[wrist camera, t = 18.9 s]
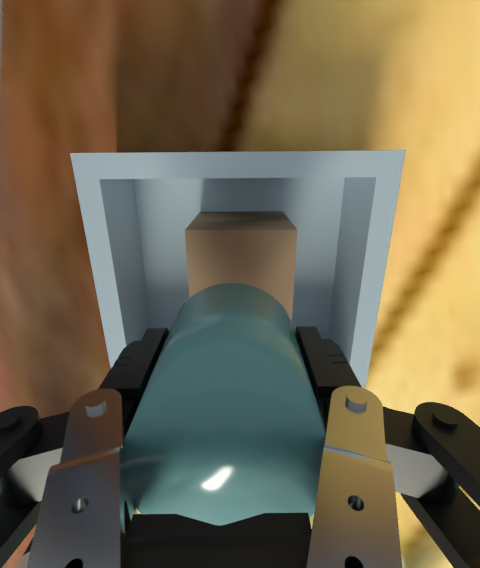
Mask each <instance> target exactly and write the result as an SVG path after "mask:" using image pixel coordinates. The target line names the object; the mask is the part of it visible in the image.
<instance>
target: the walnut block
mask: <svg viewBox="0 0 480 568" xmlns="http://www.w3.org/2000/svg"><path fill="white" fill-rule="evenodd" d="M185 241H186V255H187V270H188V284H189V298H190V297H191V296H193V295H194V294H196V293H197V292H199V291H201V290H203V289H205V288H207V287H210V286H213V285H218V284H223V283H241V284H247V285H251V286H254V287H257V288H259V289H262V290H264V291H265V292H267V293H269V294H270V295H272V296H273V297H274V298H275V299H277V300H278V301H279V302H280V303H281V304H282V306H283V307H284V308H285V310H286V311H287V313H288V315H289V317H290V319H291V322H292V309H293V293H294V277H295V260H296V244H297V229H296V227H295V226H294V225H293V224H292V222H291V221H290V220H289V218H288V217H287V216H286V215H285V213H284V212H283V211H239V212H199V214H198V215H197V216H196V217H195V218H194V220H193V221H192V222H191V223H190V224H189V226H188V227H187V228H186V229H185Z"/></svg>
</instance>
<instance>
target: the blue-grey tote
mask: <svg viewBox="0 0 480 568" xmlns="http://www.w3.org/2000/svg"><path fill="white" fill-rule="evenodd" d="M405 151H406V150H379V151H262V152H146V153H70V155H71V160H72V166H73V171H74V176H75V182H76V187H77V192H78V198H79V203H80V208H81V213H82V219H83V224H84V229H85V235H86V240H87V245H88V251H89V256H90V261H91V267H92V272H93V277H94V282H95V288H96V293H97V298H98V304H99V309H100V314H101V320H102V325H103V330H104V336H105V341H106V346H107V351H108V357H109V362H110V367H111V368H112V366H114V363H115V361H116V360H117V359H118V356H119V355H120V353H121V352H122V350H123V348H125V347H126V346H127V345H129V344H130V343H131V342H133V341H141V339H142V337H143V335H144V333H145V332H146V330H147V329H148V328H168V330H169V331H170V329H171V326H172V324H173V322H174V319H175V317H176V315H177V313H178V311H179V310H180V308H181V307H182V305H183V304H184V303H185V302H186V301H187V300H188V299H189V284H188V270H187V255H186V241H185V229H186V228H187V227H188V226H189V224H190V223H191V222H192V221H193V220H194V218H195V217H196V216H197V215H198V214H199V212H239V211H283V212H284V213H285V215H286V216H287V217H288V218H289V220H290V221H291V222H292V224H293V225H294V226H295V227H296V229H297V244H296V260H295V277H294V293H293V309H292V325H293V329H294V332H295V329H296V326H316V328H317V330H318V332H319V334H320V336H321V338H322V339H331V340H333V341H334V342H335V343H336V344H338V345H339V346H340V348H341V350H342V351H343V353H344V356H345V357H346V359H347V361H348V364H350V366H351V368H352V370H353V372H354V374H355V376H356V377H357V379H358V381H359V383H360V385H361V387H362V388H364V389H365V387H366V381H367V375H368V369H369V363H370V358H371V352H372V346H373V340H374V334H375V328H376V322H377V316H378V310H379V304H380V298H381V292H382V287H383V281H384V275H385V269H386V263H387V257H388V251H389V245H390V239H391V233H392V227H393V222H394V216H395V210H396V204H397V198H398V192H399V186H400V180H401V174H402V168H403V162H404V156H405Z"/></svg>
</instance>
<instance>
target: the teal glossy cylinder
mask: <svg viewBox="0 0 480 568" xmlns="http://www.w3.org/2000/svg"><path fill="white" fill-rule="evenodd" d="M325 438H326V429H325V425H324V422H323V419H322V416H321V413H320V410H319V407H318V404H317V400H316V397H315V394H314V391H313V388H312V385H311V382H310V379H309V375H308V372H307V369H306V366H305V363H304V360H303V357H302V354H301V350H300V347H299V344H298V341H297V338H296V335H295V332H294V329H293V325H292V322H291V319H290V317H289V315H288V313H287V311H286V310H285V308H284V307H283V306H282V304H281V303H280V302H279V301H278V300H277V299H275V298H274V297H273V296H272V295H270V294H269V293H267V292H265V291H264V290H262V289H259V288H257V287H254V286H251V285H247V284H241V283H223V284H218V285H213V286H210V287H207V288H205V289H203V290H201V291H199V292H197V293H196V294H194V295H193V296H191V297H190V298H189V299H188V300H187V301H186V302H185V303H184V304H183V305H182V307H181V308H180V310H179V311H178V313H177V315H176V317H175V319H174V322H173V324H172V326H171V329H170V331H169V334H168V336H167V338H166V341H165V343H164V346H163V348H162V350H161V353H160V355H159V358H158V360H157V362H156V365H155V367H154V370H153V372H152V375H151V377H150V379H149V382H148V384H147V387H146V389H145V391H144V394H143V396H142V399H141V401H140V403H139V406H138V408H137V411H136V413H135V415H134V418H133V420H132V423H131V425H130V427H129V430H128V432H127V435H126V437H125V439H124V442H123V443H124V448H125V453H126V469H127V477H128V483H129V488H130V493H131V497H132V499H135V503H136V508H137V509H138V510H139V511H140V513H141V514H178V515H182V516H185V517H189V518H192V519H196V520H199V521H203V522H206V523H210V524H213V525H218V526H221V525H226V524H229V523H233V522H236V521H239V520H243V519H246V518H250V517H253V516H256V515H260V514H263V513H308V515H309V518H310V517H311V516H312V515H313V514H314V512H315V505H316V498H317V491H318V484H319V477H320V470H321V462H322V455H323V449H324V444H325Z"/></svg>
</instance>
